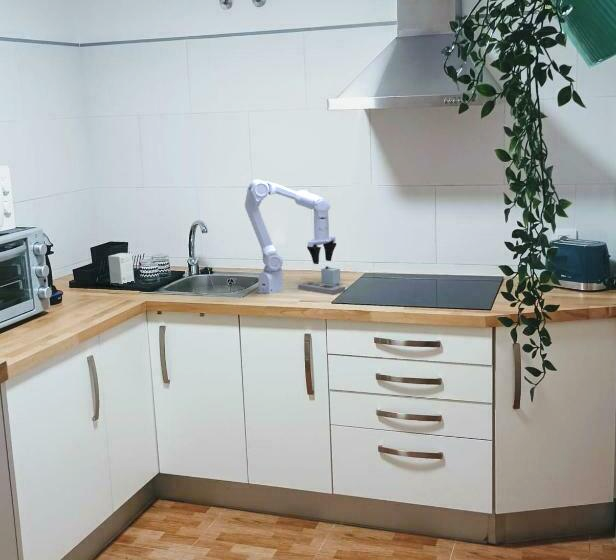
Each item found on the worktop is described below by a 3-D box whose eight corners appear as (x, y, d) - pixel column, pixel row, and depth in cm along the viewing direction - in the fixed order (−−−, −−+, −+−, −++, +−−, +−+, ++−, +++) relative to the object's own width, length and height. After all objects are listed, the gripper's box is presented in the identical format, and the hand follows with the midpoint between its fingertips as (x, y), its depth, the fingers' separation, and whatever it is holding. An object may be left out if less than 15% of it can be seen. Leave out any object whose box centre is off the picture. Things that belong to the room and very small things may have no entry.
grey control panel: (333, 296, 304) (333, 289, 304) (298, 290, 316) (298, 284, 316) (345, 293, 309) (345, 285, 309) (310, 287, 321) (309, 280, 321)
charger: (333, 288, 318) (332, 268, 316) (321, 287, 321) (321, 267, 320) (340, 286, 321) (339, 266, 319) (329, 285, 325) (328, 265, 323)
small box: (123, 282, 346) (120, 252, 343) (134, 283, 343) (132, 253, 340) (110, 286, 339) (107, 255, 336) (122, 287, 336) (119, 256, 333)
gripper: (316, 231, 308) (317, 266, 310) (341, 226, 318) (341, 260, 321) (303, 229, 312) (304, 264, 315) (327, 225, 323) (328, 258, 325)
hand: (322, 262), depth 318 cm, fingers open, 7 cm apart
